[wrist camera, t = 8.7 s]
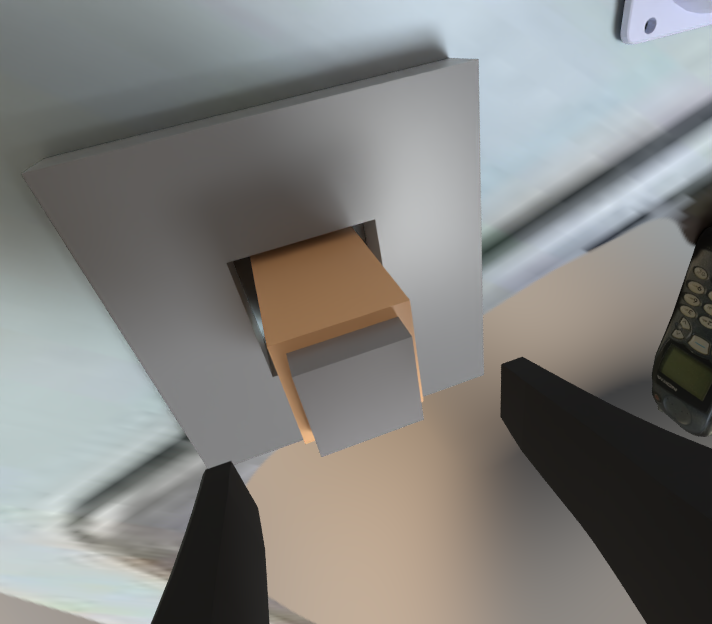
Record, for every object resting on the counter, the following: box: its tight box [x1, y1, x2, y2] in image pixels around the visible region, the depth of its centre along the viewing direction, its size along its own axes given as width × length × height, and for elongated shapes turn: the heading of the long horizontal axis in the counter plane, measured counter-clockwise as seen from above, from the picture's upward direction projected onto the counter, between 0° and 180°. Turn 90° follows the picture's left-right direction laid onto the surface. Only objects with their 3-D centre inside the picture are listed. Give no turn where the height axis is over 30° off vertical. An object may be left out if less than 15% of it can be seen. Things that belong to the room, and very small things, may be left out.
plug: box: [250, 226, 424, 457], centre depth 15 cm, size 4×4×8 cm
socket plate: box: [21, 58, 484, 469], centre depth 17 cm, size 14×14×2 cm
